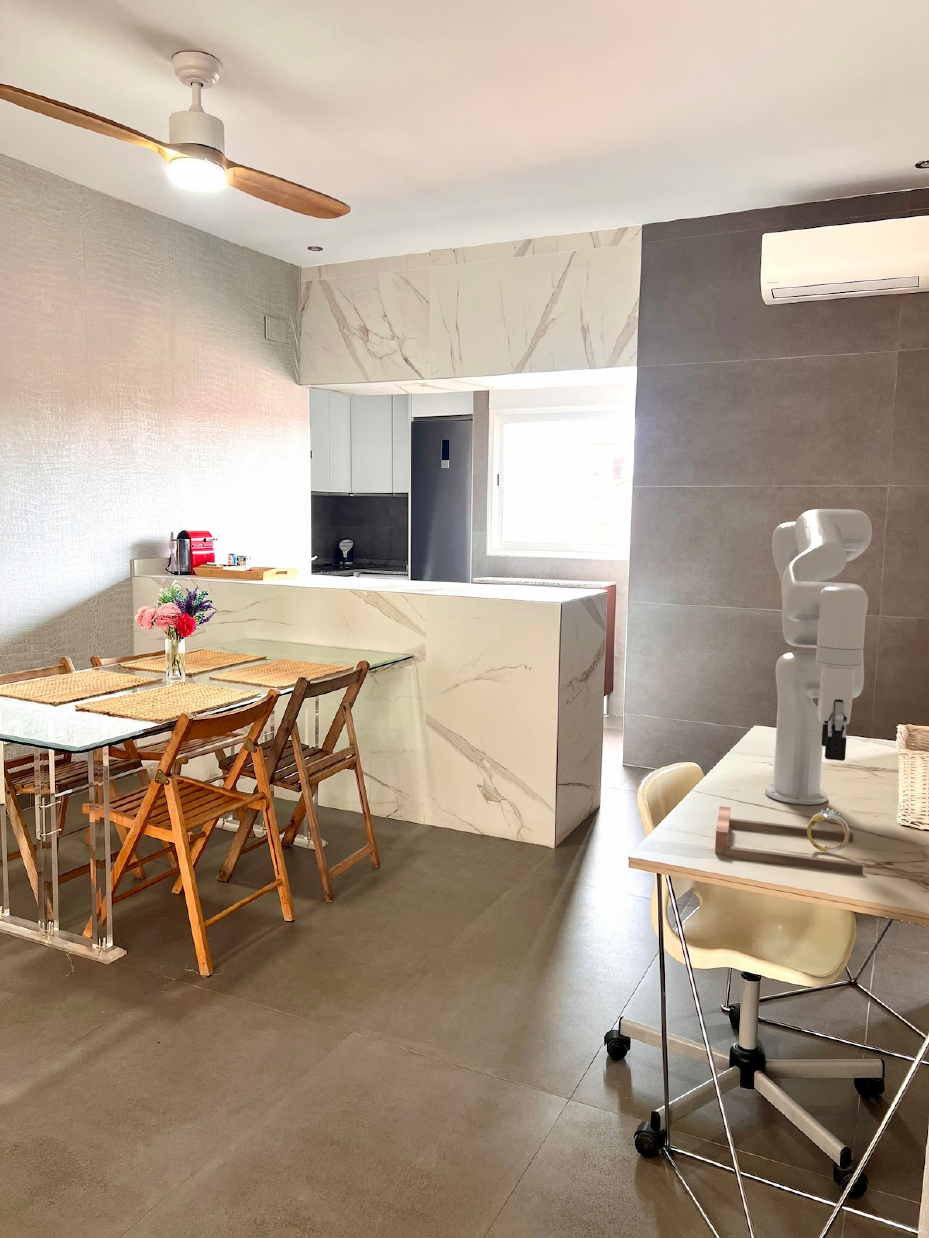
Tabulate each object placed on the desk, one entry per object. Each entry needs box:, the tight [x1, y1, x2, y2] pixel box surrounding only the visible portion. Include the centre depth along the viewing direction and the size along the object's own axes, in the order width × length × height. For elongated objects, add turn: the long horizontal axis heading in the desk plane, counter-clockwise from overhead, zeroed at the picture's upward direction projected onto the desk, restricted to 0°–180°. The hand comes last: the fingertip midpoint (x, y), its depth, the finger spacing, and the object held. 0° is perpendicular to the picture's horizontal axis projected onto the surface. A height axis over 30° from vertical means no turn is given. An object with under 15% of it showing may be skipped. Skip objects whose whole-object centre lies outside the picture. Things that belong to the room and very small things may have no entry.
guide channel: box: [714, 805, 864, 875], centre depth 161 cm, size 17×24×4 cm
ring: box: [807, 807, 850, 855], centre depth 159 cm, size 7×3×8 cm, turn 63°
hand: (832, 752), depth 157 cm, fingers open, 9 cm apart
